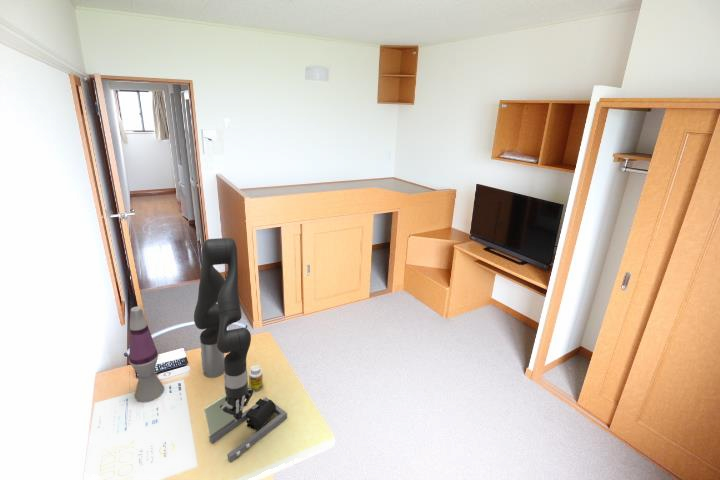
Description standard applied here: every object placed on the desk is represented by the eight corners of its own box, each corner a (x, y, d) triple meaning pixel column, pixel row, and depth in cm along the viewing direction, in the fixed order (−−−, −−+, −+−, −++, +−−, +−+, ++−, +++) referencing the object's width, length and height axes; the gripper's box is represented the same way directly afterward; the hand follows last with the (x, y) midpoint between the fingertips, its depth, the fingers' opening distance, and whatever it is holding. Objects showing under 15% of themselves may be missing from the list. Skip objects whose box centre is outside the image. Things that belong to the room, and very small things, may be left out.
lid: (211, 437, 134) (209, 436, 135) (234, 421, 142) (232, 419, 142) (205, 409, 131) (203, 407, 132) (229, 393, 139) (227, 392, 139)
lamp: (162, 399, 153) (149, 314, 139) (132, 404, 149) (116, 317, 135) (165, 381, 162) (153, 299, 148) (137, 385, 158) (122, 303, 144)
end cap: (260, 434, 140) (260, 420, 138) (245, 427, 143) (244, 413, 140) (276, 415, 149) (276, 401, 147) (261, 408, 152) (261, 395, 149)
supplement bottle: (249, 392, 159) (248, 373, 156) (249, 383, 164) (248, 364, 161) (262, 391, 160) (262, 371, 157) (262, 382, 165) (262, 363, 162)
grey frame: (209, 441, 136) (209, 436, 135) (266, 401, 155) (266, 396, 154) (231, 463, 128) (231, 458, 128) (288, 418, 148) (288, 413, 147)
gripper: (245, 365, 136) (247, 402, 143) (212, 384, 126) (215, 423, 133) (258, 375, 132) (259, 412, 138) (225, 396, 122) (228, 435, 128)
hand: (238, 417), depth 135 cm, fingers closed
